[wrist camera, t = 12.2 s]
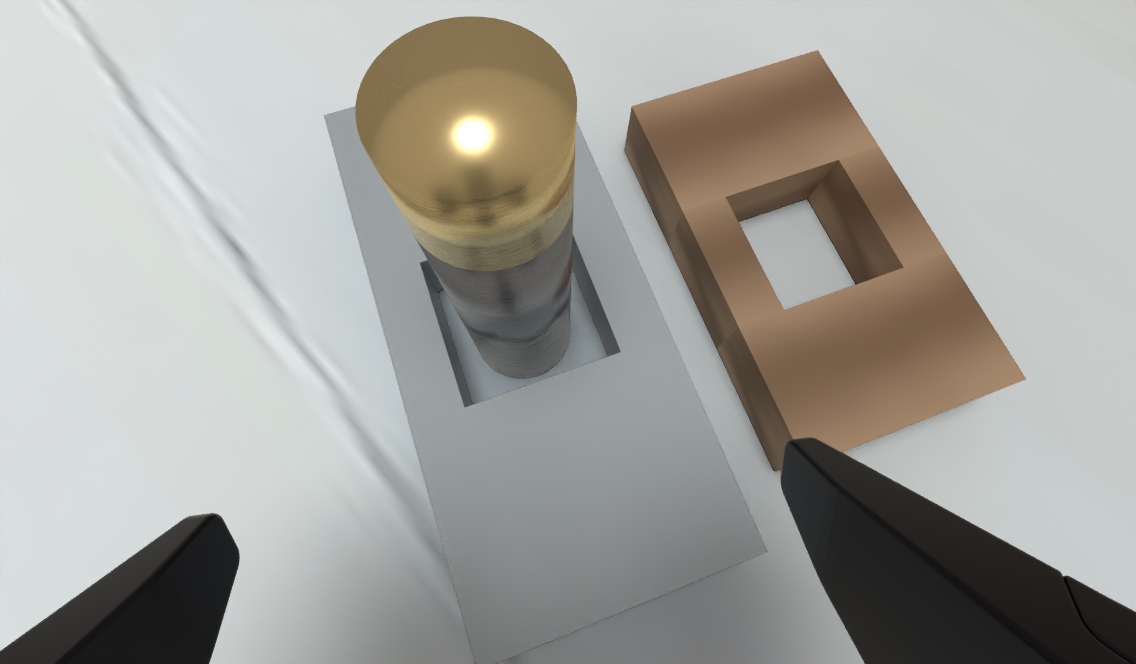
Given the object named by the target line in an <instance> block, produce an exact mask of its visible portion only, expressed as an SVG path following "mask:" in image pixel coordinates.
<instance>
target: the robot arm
mask: <svg viewBox="0 0 1136 664" xmlns="http://www.w3.org/2000/svg"><path fill="white" fill-rule="evenodd" d="M781 486H782V491H783V494H784V496H785V499H786V501H787V503H788V506H789V508H790V511H791V513H792V515H793V518H794V520H795V523H796V525H797V527H798V530H799V532H800V535H801V537H802V539H803V542H804V544H805V547H806V549H807V551H808V554H809V556H810V559H811V561H812V563H813V566H814V568H815V570H816V572H817V575H818V577H819V579H820V581H821V583H822V585H823V587H824V589H825V591H826V593H827V595H828V597H829V599H830V600H831V602H832V604H833V606H834V608H835V610H836V611H837V613H838V615H839V617H840V619H841V621H842V622H843V624H844V626H845V628H846V630H847V632H848V633H849V635H850V637H851V639H852V641H853V643H854V644H855V646H856V648H857V650H858V652H859V654H860V655H861V657H862V659H863V661H864V663H865V664H1136V612H1135V611H1133V610H1131V609H1129V608H1127V607H1126V606H1124V605H1122V604H1120V603H1118V602H1116V601H1114V600H1112V599H1110V598H1108V597H1107V596H1105V595H1103V594H1101V593H1099V592H1097V591H1095V590H1094V589H1092V588H1090V587H1088V586H1086V585H1084V584H1083V583H1081V582H1079V581H1077V580H1075V579H1073V578H1072V577H1070V576H1063V575H1062V573H1061V572H1060V571H1058V570H1057V569H1055V568H1053V567H1051V566H1049V565H1047V564H1046V563H1044V562H1042V561H1040V560H1038V559H1036V558H1035V557H1033V556H1031V555H1029V554H1027V553H1025V552H1024V551H1022V550H1020V549H1018V548H1016V547H1014V546H1013V545H1011V544H1009V543H1007V542H1005V541H1003V540H1001V539H1000V538H998V537H996V536H994V535H992V534H990V533H989V532H987V531H985V530H983V529H981V528H979V527H978V526H976V525H974V524H972V523H970V522H968V521H967V520H965V519H963V518H961V517H959V516H957V515H956V514H954V513H952V512H950V511H948V510H946V509H945V508H943V507H941V506H939V505H937V504H935V503H934V502H932V501H930V500H928V499H926V498H924V497H923V496H921V495H919V494H917V493H915V492H913V491H912V490H910V489H908V488H906V487H904V486H902V485H901V484H899V483H897V482H895V481H893V480H891V479H890V478H888V477H886V476H884V475H882V474H880V473H879V472H877V471H875V470H873V469H871V468H869V467H867V466H866V465H864V464H862V463H860V462H858V461H856V460H855V459H853V458H851V457H849V456H847V455H845V454H844V453H842V452H840V451H838V450H836V449H834V448H833V447H831V446H829V445H827V444H825V443H823V442H822V441H820V440H818V439H816V438H813V437H807V438H799V439H791V440H789V441H788V442H787V443H786V445H785V449H784V457H783V465H782V472H781ZM239 559H240V557H239V550H238V547H237V545H236V543H235V541H234V539H233V537H232V536H231V534H230V532H229V530H228V528H227V526H226V524H225V522H224V520H223V519H222V517H221V516H219V515H218V514H214V513H209V514H201V515H194V516H190V517H187V518H185V519H183V520H182V521H180V522H179V523H178V524H176V525H175V526H173V527H172V528H171V529H169V530H168V531H167V532H165V533H164V534H162V535H161V536H160V537H158V538H157V539H155V540H154V541H153V542H151V543H150V544H148V545H147V546H146V547H144V548H143V549H141V550H140V551H139V552H137V553H136V554H135V555H133V556H132V557H130V558H129V559H128V560H126V561H125V562H123V563H122V564H121V565H119V566H118V567H116V568H115V569H114V570H112V571H111V572H110V573H108V574H107V575H105V576H104V577H103V578H101V579H100V580H98V581H97V582H96V583H94V584H93V585H91V586H90V587H89V588H87V589H86V590H84V591H83V592H82V593H80V594H79V595H78V596H76V597H75V598H73V599H72V600H71V601H69V602H68V603H66V604H65V605H64V606H62V607H61V608H59V609H58V610H57V611H55V612H54V613H53V614H51V615H50V616H48V617H47V618H46V619H44V620H43V621H41V622H40V623H39V624H37V625H36V626H34V627H33V628H32V629H30V630H29V631H27V632H26V633H25V634H23V635H22V636H21V637H19V638H18V639H16V640H15V641H14V642H12V643H11V644H9V645H8V646H7V647H5V648H4V649H2V650H1V651H0V664H209V662H210V659H211V656H212V653H213V650H214V647H215V644H216V640H217V637H218V634H219V630H220V627H221V624H222V620H223V617H224V613H225V610H226V607H227V603H228V600H229V597H230V593H231V590H232V586H233V583H234V580H235V576H236V573H237V570H238V566H239Z"/></svg>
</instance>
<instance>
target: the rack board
mask: <svg viewBox="0 0 1136 664" xmlns="http://www.w3.org/2000/svg"><path fill="white" fill-rule="evenodd" d="M355 110H356V106H355V107H352V108H348V109H345V110H341V111H338V112H334V113H331V114H327V115H324V118H325V121H326V125H327V128H328V132H329V136H330V139H331V143H332V147H333V150H334V154H335V157H336V161H337V165H338V168H339V172H340V176H341V179H342V183H343V186H344V190H345V194H346V197H347V201H348V205H349V208H350V212H351V215H352V219H353V223H354V226H355V230H356V234H357V237H358V241H359V244H360V248H361V252H362V255H363V259H364V263H365V266H366V270H367V273H368V277H369V281H370V284H371V288H372V292H373V295H374V299H375V302H376V306H377V310H378V313H379V317H380V321H381V324H382V328H383V331H384V335H385V339H386V342H387V346H388V349H389V353H390V357H391V360H392V364H393V368H394V371H395V375H396V378H397V382H398V386H399V389H400V393H401V397H402V400H403V404H404V407H405V411H406V415H407V418H408V422H409V426H410V429H411V433H412V436H413V440H414V444H415V447H416V451H417V455H418V458H419V462H420V465H421V469H422V473H423V476H424V480H425V484H426V487H427V491H428V494H429V498H430V502H431V505H432V509H433V513H434V516H435V520H436V523H437V527H438V531H439V534H440V538H441V542H442V545H443V549H444V552H445V556H446V560H447V563H448V567H449V570H450V574H451V578H452V581H453V585H454V589H455V592H456V596H457V599H458V603H459V607H460V610H461V614H462V618H463V621H464V625H465V628H466V632H467V636H468V639H469V643H470V647H471V650H472V654H473V657H474V661H475V664H497V663H499V662H501V661H504V660H506V659H509V658H511V657H514V656H516V655H518V654H521V653H523V652H526V651H528V650H531V649H533V648H535V647H538V646H540V645H543V644H545V643H547V642H550V641H552V640H555V639H557V638H560V637H562V636H564V635H567V634H569V633H572V632H574V631H577V630H579V629H581V628H584V627H586V626H589V625H591V624H593V623H596V622H598V621H601V620H603V619H606V618H608V617H610V616H613V615H615V614H618V613H620V612H622V611H625V610H627V609H630V608H632V607H635V606H637V605H639V604H642V603H644V602H647V601H649V600H652V599H654V598H656V597H659V596H661V595H664V594H666V593H668V592H671V591H673V590H676V589H678V588H681V587H683V586H685V585H688V584H690V583H693V582H695V581H698V580H700V579H702V578H705V577H707V576H710V575H712V574H714V573H717V572H719V571H722V570H724V569H727V568H729V567H731V566H734V565H736V564H739V563H741V562H744V561H746V560H748V559H751V558H753V557H756V556H758V555H760V554H763V553H765V552H767V550H766V548H765V545H764V543H763V541H762V538H761V536H760V534H759V532H758V529H757V527H756V525H755V523H754V520H753V518H752V516H751V514H750V511H749V509H748V507H747V505H746V502H745V500H744V498H743V496H742V493H741V491H740V489H739V487H738V484H737V482H736V480H735V478H734V475H733V473H732V471H731V469H730V466H729V464H728V462H727V460H726V457H725V455H724V453H723V450H722V448H721V446H720V444H719V441H718V439H717V437H716V435H715V432H714V430H713V428H712V426H711V423H710V421H709V419H708V417H707V414H706V412H705V410H704V408H703V405H702V403H701V401H700V399H699V396H698V394H697V392H696V390H695V387H694V385H693V383H692V381H691V378H690V376H689V374H688V372H687V369H686V367H685V365H684V363H683V360H682V358H681V356H680V353H679V351H678V349H677V347H676V344H675V342H674V340H673V338H672V335H671V333H670V331H669V329H668V326H667V324H666V322H665V320H664V317H663V315H662V313H661V311H660V308H659V306H658V304H657V302H656V299H655V297H654V295H653V293H652V290H651V288H650V286H649V284H648V281H647V279H646V277H645V275H644V272H643V270H642V268H641V266H640V263H639V261H638V259H637V256H636V254H635V252H634V250H633V247H632V245H631V243H630V241H629V238H628V236H627V234H626V232H625V229H624V227H623V225H622V223H621V220H620V218H619V216H618V214H617V211H616V209H615V207H614V205H613V202H612V200H611V198H610V196H609V193H608V191H607V189H606V187H605V184H604V182H603V180H602V178H601V175H600V173H599V171H598V168H597V166H596V164H595V162H594V159H593V157H592V155H591V153H590V150H589V148H588V146H587V144H586V141H585V139H584V137H583V135H582V132H581V130H580V128H579V126H578V123H577V121H576V144H575V175H574V206H573V237H572V268H573V270H574V273H575V275H576V278H577V280H578V283H579V285H580V288H581V290H582V293H583V295H584V298H585V300H586V303H587V305H588V308H589V310H590V313H591V315H592V318H593V320H594V323H595V325H596V328H597V330H598V333H599V335H600V338H601V340H602V343H603V345H604V348H605V350H606V353H607V355H608V357H606V358H603V359H600V360H597V361H594V362H592V363H589V364H586V365H583V366H580V367H578V368H575V369H572V370H569V371H566V372H563V373H561V374H558V375H555V376H552V377H549V378H547V379H544V380H541V381H538V382H535V383H533V384H530V385H527V386H524V387H521V388H518V389H516V390H513V391H510V392H507V393H504V394H502V395H499V396H496V397H493V398H490V399H488V400H485V401H482V402H479V403H476V404H472V401H471V398H470V394H469V391H468V388H467V385H466V382H465V378H464V375H463V372H462V369H461V366H460V363H459V359H458V356H457V353H456V350H455V347H454V344H453V340H452V337H451V334H450V331H449V328H448V324H447V321H446V318H445V315H444V312H443V309H442V305H441V302H440V299H439V296H438V293H437V291H440V290H443V289H444V288H443V286H442V284H441V283H440V281H439V279H438V277H437V276H436V274H435V272H434V270H433V269H432V267H431V265H430V263H429V262H428V260H427V258H426V256H425V254H424V253H423V251H422V249H421V247H420V246H419V244H418V242H417V240H416V239H415V237H414V235H413V233H412V231H411V230H410V228H409V226H408V224H407V223H406V221H405V219H404V217H403V216H402V214H401V212H400V210H399V209H398V207H397V205H396V203H395V201H394V200H393V198H392V196H391V194H390V193H389V191H388V189H387V187H386V186H385V184H384V182H383V180H382V178H381V177H380V175H379V173H378V171H377V170H376V168H375V166H374V164H373V163H372V161H371V159H370V157H369V156H368V154H367V152H366V150H365V148H364V146H363V144H362V142H361V140H360V137H359V134H358V130H357V125H356V118H355Z"/></svg>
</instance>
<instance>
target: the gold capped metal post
mask: <svg viewBox="0 0 1136 664" xmlns="http://www.w3.org/2000/svg"><path fill="white" fill-rule="evenodd" d="M576 113H577V96H576V89H575V85H574V82H573V78H572V75H571V73H570V71H569V69H568V67H567V65H566V64H565V62H564V61H563V59H562V58H561V56H560V55H559V54H558V53H557V52H556V50H555V49H554V48H553V47H552V46H551V45H550V44H548V43H547V42H546V41H545V40H544V39H542V38H541V37H539V36H538V35H536V34H535V33H533V32H532V31H530V30H528V29H525V28H523V27H521V26H519V25H516V24H513V23H510V22H508V21H503V20H499V19H495V18H487V17H456V18H449V19H444V20H439V21H436V22H432V23H429V24H426V25H424V26H421V27H419V28H416V29H414V30H412V31H410V32H408V33H407V34H405V35H403V36H401V37H400V38H399V39H397V40H396V41H394V42H393V43H392V44H390V45H389V46H388V47H387V48H386V49H385V50H384V51H382V53H381V54H380V55H379V56H378V57H377V58H376V59H375V60H374V62H373V63H372V65H371V66H370V67H369V69H368V70H367V72H366V74H365V76H364V78H363V80H362V82H361V85H360V88H359V91H358V94H357V100H356V110H355V118H356V125H357V130H358V134H359V137H360V140H361V142H362V144H363V146H364V148H365V150H366V152H367V154H368V156H369V157H370V159H371V161H372V163H373V164H374V166H375V168H376V170H377V171H378V173H379V175H380V177H381V178H382V180H383V182H384V184H385V186H386V187H387V189H388V191H389V193H390V194H391V196H392V198H393V200H394V201H395V203H396V205H397V207H398V209H399V210H400V212H401V214H402V216H403V217H404V219H405V221H406V223H407V224H408V226H409V228H410V230H411V231H412V233H413V235H414V237H415V239H416V240H417V242H418V244H419V246H420V247H421V249H422V251H423V253H424V254H425V256H426V258H427V260H428V262H429V263H430V265H431V267H432V269H433V270H434V272H435V274H436V276H437V277H438V279H439V281H440V283H441V284H442V286H443V288H444V290H445V292H446V293H447V295H448V297H449V299H450V300H451V302H452V304H453V306H454V307H455V309H456V311H457V313H458V314H459V316H460V318H461V320H462V322H463V323H464V325H465V327H466V329H467V330H468V332H469V334H470V336H471V337H472V339H473V341H474V343H475V345H476V346H477V348H478V350H479V352H480V353H481V355H482V357H483V358H484V360H485V361H486V362H487V363H488V365H489V366H490V367H492V368H493V369H494V370H496V371H497V372H499V373H501V374H503V375H505V376H509V377H512V378H531V377H536V376H538V375H541V374H543V373H545V372H547V371H549V370H550V369H551V368H553V367H554V366H555V365H556V364H557V363H558V362H559V361H560V359H561V358H562V356H563V355H564V353H565V351H566V349H567V346H568V342H569V330H570V299H571V268H572V237H573V206H574V175H575V144H576Z"/></svg>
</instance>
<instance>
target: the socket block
mask: <svg viewBox="0 0 1136 664" xmlns="http://www.w3.org/2000/svg"><path fill="white" fill-rule="evenodd" d="M624 150H625V153H626V155H627V157H628V159H629V161H630V163H631V165H632V168H633V170H634V172H635V174H636V176H637V178H638V181H639V183H640V185H641V187H642V189H643V191H644V193H645V196H646V198H647V200H648V202H649V204H650V206H651V208H652V211H653V213H654V215H655V217H656V219H657V221H658V223H659V226H660V228H661V230H662V232H663V234H664V236H665V238H666V241H667V243H668V245H669V247H670V249H671V251H672V253H673V256H674V258H675V260H676V262H677V264H678V266H679V268H680V271H681V273H682V275H683V277H684V279H685V281H686V283H687V286H688V288H689V290H690V292H691V294H692V296H693V299H694V301H695V303H696V305H697V307H698V309H699V311H700V314H701V316H702V318H703V320H704V322H705V324H706V326H707V329H708V331H709V333H710V335H711V337H712V339H713V341H714V344H715V346H716V348H717V350H718V352H719V354H720V356H721V359H722V361H723V363H724V365H725V367H726V369H727V371H728V374H729V376H730V378H731V380H732V382H733V384H734V386H735V389H736V391H737V393H738V395H739V397H740V399H741V401H742V404H743V406H744V408H745V410H746V412H747V414H748V416H749V419H750V421H751V423H752V425H753V427H754V429H755V432H756V434H757V436H758V438H759V440H760V442H761V444H762V447H763V449H764V451H765V453H766V455H767V457H768V459H769V462H770V464H771V466H772V468H773V470H774V471H777V470H782V465H783V457H784V449H785V445H786V443H787V442H788V441H789V440H791V439H799V438H807V437H813V438H816V439H818V440H820V441H822V442H823V443H825V444H827V445H829V446H831V447H833V448H834V449H836V450H838V451H840V452H844V451H846V450H849V449H851V448H854V447H856V446H859V445H861V444H864V443H866V442H869V441H871V440H874V439H877V438H879V437H882V436H884V435H887V434H889V433H892V432H894V431H897V430H899V429H902V428H904V427H907V426H909V425H912V424H914V423H917V422H919V421H922V420H924V419H927V418H929V417H932V416H934V415H937V414H939V413H942V412H944V411H947V410H950V409H952V408H955V407H957V406H960V405H962V404H965V403H967V402H970V401H972V400H975V399H977V398H980V397H982V396H985V395H987V394H990V393H992V392H995V391H997V390H1000V389H1002V388H1005V387H1007V386H1010V385H1012V384H1015V383H1018V382H1020V381H1023V380H1025V379H1026V378H1025V376H1024V375H1023V373H1022V372H1021V370H1020V368H1019V367H1018V365H1017V364H1016V362H1015V361H1014V359H1013V357H1012V356H1011V354H1010V353H1009V351H1008V350H1007V348H1006V346H1005V345H1004V343H1003V342H1002V340H1001V338H1000V337H999V335H998V334H997V332H996V331H995V329H994V327H993V326H992V324H991V323H990V321H989V320H988V318H987V316H986V315H985V313H984V312H983V310H982V309H981V307H980V305H979V304H978V302H977V301H976V299H975V297H974V296H973V294H972V293H971V291H970V290H969V288H968V286H967V285H966V283H965V282H964V280H963V279H962V277H961V275H960V274H959V272H958V271H957V269H956V267H955V266H954V264H953V263H952V261H951V260H950V258H949V256H948V255H947V253H946V252H945V250H944V249H943V247H942V245H941V244H940V242H939V241H938V239H937V238H936V236H935V234H934V233H933V231H932V230H931V228H930V226H929V225H928V223H927V222H926V220H925V219H924V217H923V215H922V214H921V212H920V211H919V209H918V208H917V206H916V204H915V203H914V201H913V200H912V198H911V197H910V195H909V193H908V192H907V190H906V189H905V187H904V185H903V184H902V182H901V181H900V179H899V178H898V176H897V174H896V173H895V171H894V170H893V168H892V167H891V165H890V163H889V162H888V160H887V159H886V157H885V156H884V154H883V152H882V151H881V149H880V148H879V146H878V144H877V143H876V141H875V140H874V138H873V137H872V135H871V133H870V132H869V130H868V129H867V127H866V126H865V124H864V122H863V121H862V119H861V118H860V116H859V114H858V113H857V111H856V110H855V108H854V107H853V105H852V103H851V102H850V100H849V99H848V97H847V96H846V94H845V92H844V91H843V89H842V88H841V86H840V85H839V83H838V81H837V80H836V78H835V77H834V75H833V73H832V72H831V70H830V69H829V67H828V66H827V64H826V62H825V61H824V59H823V58H822V56H821V55H820V53H819V51H818V50H817V51H814V52H810V53H807V54H804V55H800V56H797V57H794V58H790V59H787V60H784V61H780V62H777V63H774V64H771V65H767V66H764V67H761V68H757V69H754V70H751V71H747V72H744V73H741V74H737V75H734V76H731V77H727V78H724V79H721V80H718V81H714V82H711V83H708V84H704V85H701V86H698V87H694V88H691V89H688V90H684V91H681V92H678V93H675V94H671V95H668V96H665V97H661V98H658V99H655V100H651V101H648V102H645V103H641V104H638V105H635V106H632V108H631V114H630V120H629V126H628V131H627V137H626V143H625V149H624ZM805 199H808V200H809V202H810V204H811V205H812V207H813V209H814V211H815V213H816V214H817V216H818V218H819V220H820V221H821V223H822V225H823V227H824V228H825V230H826V232H827V234H828V235H829V237H830V239H831V241H832V242H833V244H834V246H835V248H836V250H837V251H838V253H839V255H840V257H841V258H842V260H843V262H844V264H845V265H846V267H847V269H848V271H849V272H850V274H851V276H852V278H853V279H854V281H855V283H856V285H854V286H851V287H848V288H845V289H843V290H840V291H837V292H834V293H832V294H829V295H826V296H823V297H820V298H818V299H815V300H812V301H809V302H806V303H804V304H801V305H798V306H795V307H793V308H790V309H787V310H784V309H783V307H782V305H781V303H780V302H779V300H778V298H777V296H776V294H775V292H774V290H773V288H772V286H771V284H770V282H769V280H768V278H767V276H766V274H765V273H764V271H763V269H762V267H761V265H760V263H759V261H758V259H757V257H756V255H755V253H754V251H753V249H752V247H751V245H750V243H749V242H748V240H747V238H746V236H745V234H744V232H743V230H742V228H741V226H740V224H739V221H742V220H745V219H748V218H751V217H754V216H757V215H760V214H763V213H766V212H769V211H772V210H775V209H778V208H781V207H784V206H787V205H790V204H793V203H796V202H799V201H802V200H805Z"/></svg>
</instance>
